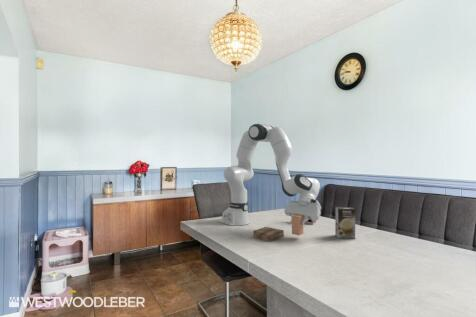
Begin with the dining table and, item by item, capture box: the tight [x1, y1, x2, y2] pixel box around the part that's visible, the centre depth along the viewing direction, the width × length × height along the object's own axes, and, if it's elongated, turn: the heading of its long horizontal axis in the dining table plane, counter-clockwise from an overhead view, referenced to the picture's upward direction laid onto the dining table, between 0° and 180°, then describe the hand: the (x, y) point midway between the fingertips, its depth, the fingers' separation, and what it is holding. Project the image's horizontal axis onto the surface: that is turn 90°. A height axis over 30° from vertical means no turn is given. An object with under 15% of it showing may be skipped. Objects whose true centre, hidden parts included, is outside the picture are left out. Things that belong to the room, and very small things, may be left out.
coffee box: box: [334, 206, 356, 239], centre depth 146 cm, size 9×6×16 cm
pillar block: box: [291, 214, 304, 236], centre depth 144 cm, size 4×4×10 cm
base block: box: [252, 226, 285, 242], centre depth 147 cm, size 12×12×4 cm
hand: (297, 223), depth 143 cm, fingers closed on pillar block, 4 cm apart
